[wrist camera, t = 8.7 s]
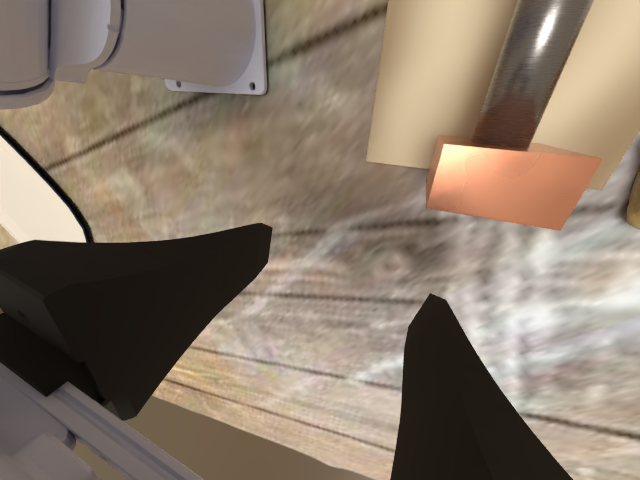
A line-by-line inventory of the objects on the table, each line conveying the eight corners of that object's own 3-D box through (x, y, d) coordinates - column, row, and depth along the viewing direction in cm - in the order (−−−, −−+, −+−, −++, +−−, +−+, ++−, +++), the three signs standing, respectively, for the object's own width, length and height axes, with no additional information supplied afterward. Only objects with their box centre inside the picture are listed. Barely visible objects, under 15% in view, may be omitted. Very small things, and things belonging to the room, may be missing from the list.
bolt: (426, 180, 14) (426, 207, 10) (500, -99, 9) (563, -278, 5) (517, 193, 12) (560, 230, 8) (665, -128, 7) (943, -410, 3)
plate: (-34, 83, 32) (-55, 81, 31) (106, 228, 35) (93, 233, 33) (-16, 194, 46) (-30, 197, 44) (83, 291, 49) (73, 296, 47)
